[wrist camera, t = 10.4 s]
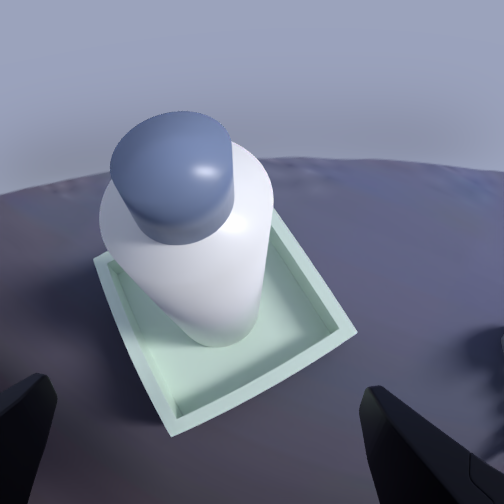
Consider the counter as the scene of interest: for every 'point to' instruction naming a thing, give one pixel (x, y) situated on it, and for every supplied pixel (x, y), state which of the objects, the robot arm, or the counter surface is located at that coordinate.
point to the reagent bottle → (190, 223)
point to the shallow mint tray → (237, 355)
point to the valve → (502, 343)
